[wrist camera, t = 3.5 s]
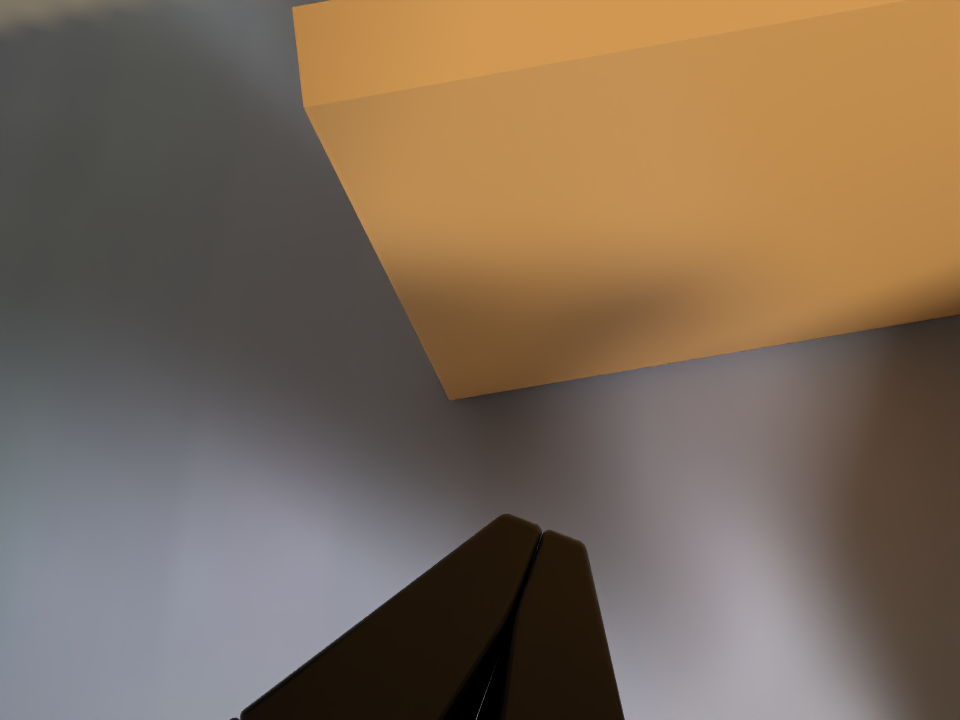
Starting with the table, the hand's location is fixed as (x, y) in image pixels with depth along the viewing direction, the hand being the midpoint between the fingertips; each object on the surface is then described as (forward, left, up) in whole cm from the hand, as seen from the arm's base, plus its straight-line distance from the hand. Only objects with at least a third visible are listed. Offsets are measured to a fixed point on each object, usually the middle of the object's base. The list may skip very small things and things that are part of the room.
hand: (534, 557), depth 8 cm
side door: (+6, +3, -6) cm, 10 cm away
